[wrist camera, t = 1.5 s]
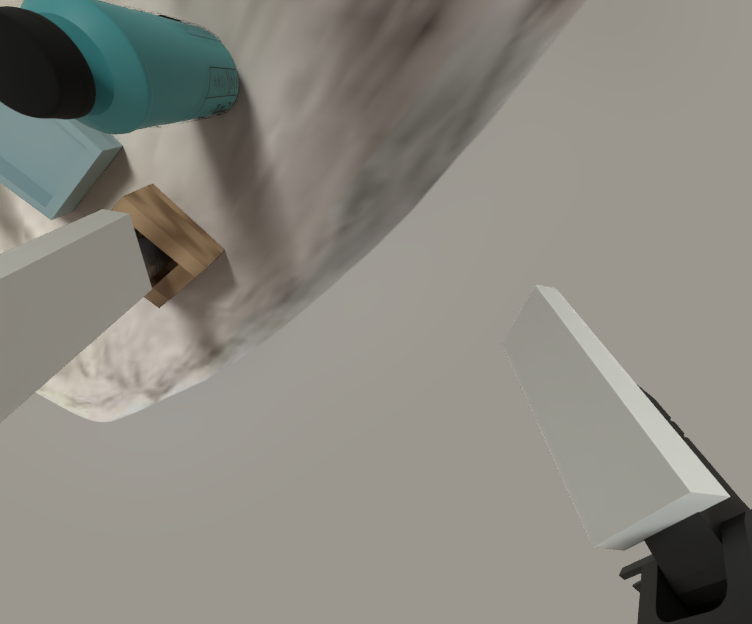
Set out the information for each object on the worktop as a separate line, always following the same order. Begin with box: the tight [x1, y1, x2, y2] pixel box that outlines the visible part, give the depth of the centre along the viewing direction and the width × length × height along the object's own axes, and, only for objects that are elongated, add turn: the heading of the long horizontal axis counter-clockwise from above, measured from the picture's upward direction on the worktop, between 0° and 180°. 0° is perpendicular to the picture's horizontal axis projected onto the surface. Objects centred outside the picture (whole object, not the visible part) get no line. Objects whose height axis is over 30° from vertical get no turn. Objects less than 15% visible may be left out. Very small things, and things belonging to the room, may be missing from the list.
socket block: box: [112, 184, 224, 308], centre depth 37 cm, size 10×10×5 cm
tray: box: [0, 102, 123, 220], centre depth 31 cm, size 12×12×3 cm
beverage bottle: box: [0, 0, 239, 134], centre depth 21 cm, size 6×7×20 cm
